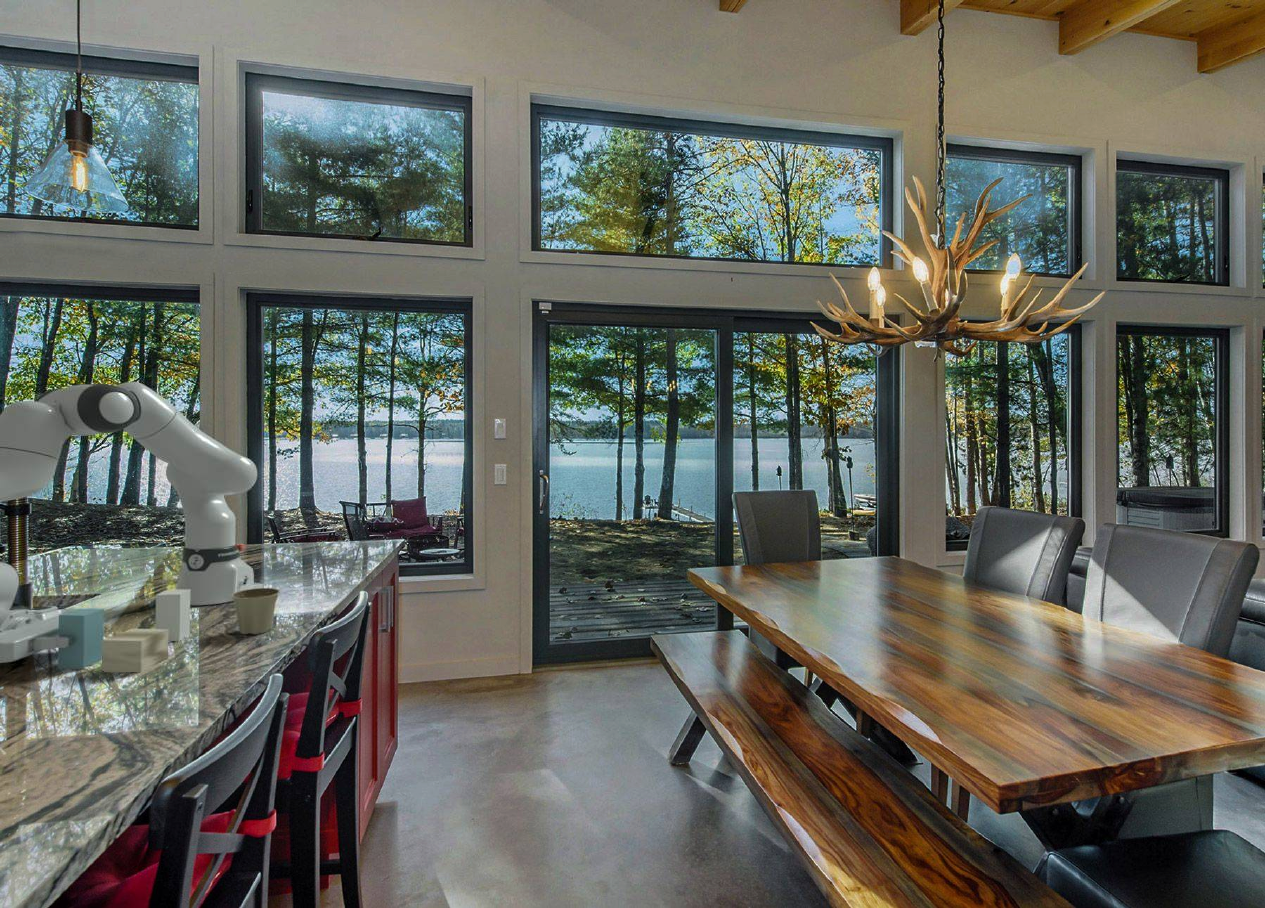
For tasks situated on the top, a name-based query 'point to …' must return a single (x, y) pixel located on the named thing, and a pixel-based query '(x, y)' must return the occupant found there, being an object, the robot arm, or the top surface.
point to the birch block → (134, 650)
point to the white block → (173, 613)
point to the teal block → (81, 638)
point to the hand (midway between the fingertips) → (86, 635)
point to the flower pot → (255, 609)
